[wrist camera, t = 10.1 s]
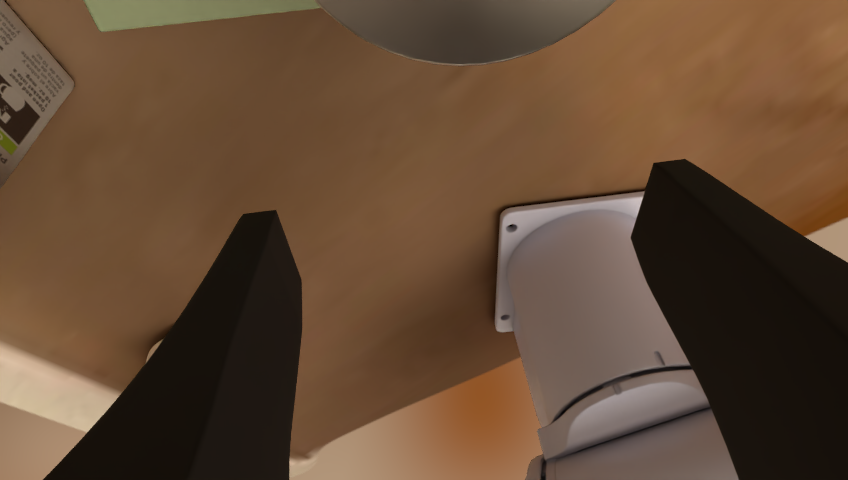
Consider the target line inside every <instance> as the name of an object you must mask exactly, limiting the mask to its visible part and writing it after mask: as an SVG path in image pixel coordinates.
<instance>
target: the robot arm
mask: <svg viewBox="0 0 848 480" xmlns="http://www.w3.org/2000/svg"><path fill="white" fill-rule="evenodd" d="M511 224H514V225H513V226H510V227H508V226H509V225H511ZM495 327H496V330H497V331H498V332H510V331H514V333H515V337H516V341H517V344H518V348H519V352H520V356H521V359H522V363H523V367H524V370H525V374H526V377H527V381H528V385H529V389H530V392H531V396H532V399H533V403H534V407H535V411H536V414H537V417H538V420H539V422H540V425H541V427H542V428H540V429H538V431H537V432H538V436H539V440H540V444H541V447H542V451H543V454H542V455H540V456H537V457H535V458H534V459H532V460H531V462H530V464H529V467H528V470H527V476H526V479H525V480H848V263H847V262H846V261H844V260H842V259H841V258H839V257H837V256H836V255H833V254H832V253H831V252H829V251H827V250H825V249H823V248H822V247H820V246H819V245H817V244H815V243H814V242H812V241H810V240H809V239H807V238H806V237H804V236H802V235H801V234H799V233H798V232H796V231H794V230H793V229H791V228H790V227H788V226H787V225H785V224H783V223H782V222H780V221H779V220H777V219H776V218H774V217H773V216H771V215H770V214H768V213H767V212H765V211H764V210H762V209H761V208H759V207H758V206H756V205H755V204H753V203H752V202H750V201H749V200H747V199H746V198H744V197H743V196H741V195H740V194H738V193H737V192H735V191H734V190H732V189H731V188H729V187H728V186H726V185H725V184H723V183H722V182H720V181H719V180H717V179H716V178H714V177H713V176H711V175H710V174H708V173H707V172H705V171H704V170H702V169H700V168H699V167H697V166H696V165H694V164H692V163H691V162H689V161H687V160H686V159H682V160H674V161H666V162H658V163H654V164H653V167H652V170H651V173H650V177H649V180H648V183H647V186H646V189H645V191H643V192H635V193H627V194H618V195H610V196H602V197H594V198H586V199H577V200H569V201H561V202H553V203H544V204H536V205H528V206H520V207H511V208H508V209H506V210H504V211H503V212H502V213H501V215H500V227H499V247H498V267H497V287H496V306H495ZM301 335H302V282H301V277H300V275H299V272H298V269H297V266H296V264H295V261H294V258H293V255H292V253H291V250H290V247H289V244H288V242H287V239H286V236H285V233H284V231H283V228H282V225H281V222H280V220H279V217H278V214H277V211H276V210H271V211H263V212H255V213H247V214H243V215H242V216H241V218H240V219H239V220H238V222H237V224H236V226H235V227H234V229H233V231H232V232H231V234H230V236H229V238H228V239H227V241H226V243H225V245H224V246H223V248H222V250H221V251H220V253H219V255H218V256H217V258H216V260H215V261H214V263H213V265H212V266H211V268H210V270H209V271H208V273H207V275H206V276H205V278H204V279H203V281H202V283H201V284H200V286H199V287H198V289H197V290H196V292H195V293H194V295H193V297H192V298H191V300H190V301H189V303H188V304H187V306H186V308H185V309H184V311H183V312H182V313H181V315H180V316H179V318H178V319H177V321H176V322H175V323H174V325H173V326H172V328H171V329H170V331H169V332H168V333H167V335H166V336H165V338H164V339H163V340H162V342H161V343H160V345H159V346H158V347H157V349H156V350H155V352H154V353H153V354H152V356H151V357H150V358H149V360H148V361H147V362H146V363H145V365H144V366H143V367H142V369H141V370H140V371H139V373H138V374H137V375H136V376H135V378H134V379H133V380H132V381H131V383H130V384H129V385H128V386H127V387H126V389H125V390H124V391H123V392H122V393H121V395H120V396H119V397H118V398H117V400H116V401H115V402H114V403H113V404H112V406H111V407H110V408H109V409H108V410H107V411H106V412H105V414H104V415H103V416H102V417H101V418H100V419H99V420H98V421H97V422H96V424H95V425H94V426H93V427H92V428H91V429H90V430H89V431H88V432H87V434H86V435H85V436H84V437H83V438H82V439H81V440H80V441H79V443H78V444H77V445H76V446H75V447H74V448H73V449H72V450H71V451H70V452H69V453H68V454H67V455H66V456H65V457H64V458H63V460H62V461H61V462H60V463H59V464H58V465H57V466H56V467H55V468H54V469H53V470H52V471H51V472H50V473H49V474H48V475H47V476H46V477H45V478H44V479H43V480H289V456H290V441H291V429H292V420H293V411H294V401H295V392H296V383H297V374H298V365H299V355H300V345H301Z"/></svg>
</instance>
